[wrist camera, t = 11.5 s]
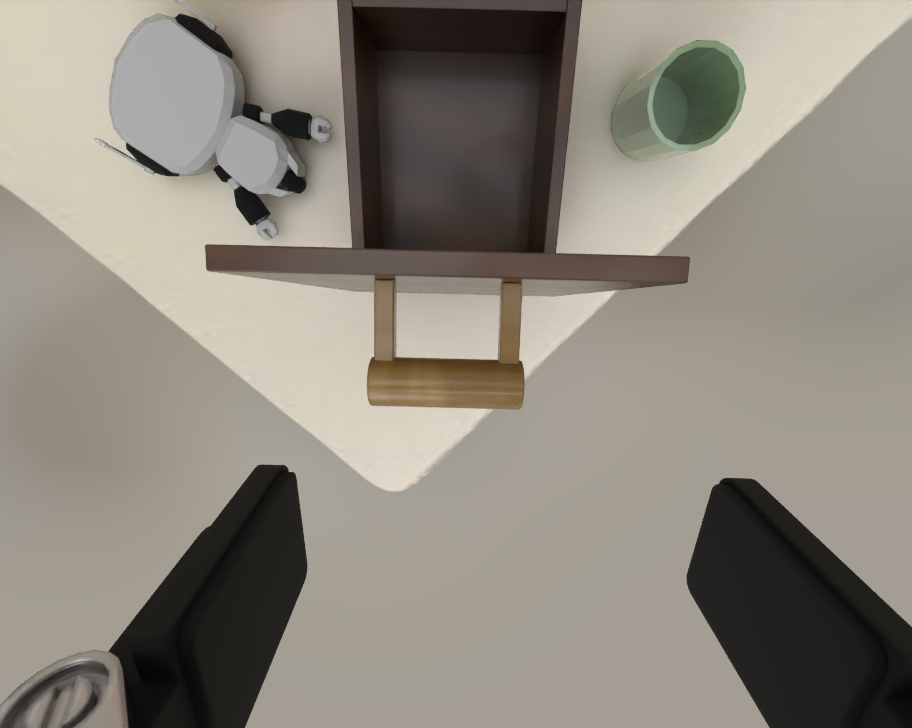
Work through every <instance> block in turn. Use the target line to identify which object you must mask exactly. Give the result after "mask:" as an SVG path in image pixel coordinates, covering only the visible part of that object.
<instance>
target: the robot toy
mask: <svg viewBox="0 0 912 728" xmlns="http://www.w3.org/2000/svg"><path fill="white" fill-rule="evenodd" d="M175 1H176V2H178V3H179V4H180V5H182V6H183V7H184V8H186V9H187V10H188V11H190V12H191V13H192V14H194V15H195V16H196V17H198V18H199V19H200V20H202V21H203V22H204V23H203V22H201V21H200V20H198V19H196V18H193V17H190V16H187V15H183V14H179V15H178V16H177V17H175V18H173V17H169V16H165V15H161V14H156V15H153V16H151V17H148V18H146V19H144V20H143V21H142V22H141V23H139V24H138V26H137V27H136V28H135V29H134V30H133V31H132V33H131V34H130V35H129V37H128V38H127V40H126V42H125V43H124V45H123V47H122V48H121V50H120V52H119V53H118V55H117V57H116V58H115V62H114V67H113V73H112V79H111V85H110V94H109V110H110V116H111V119H112V123H113V127H114V129H115V131H116V132H117V133H118V134H119V136H120V137H121V138H122V139H123V140H124V141H125V142H126V149H127V150H128V151H129V152H130V153H131V154H132V155H133V156H134V157H135V158H136V159H137V160H135V159H133V158H131V157H130V156H128V155H126V154H124V153H123V152H121V151H119V150H117V149H115V148H114V147H112V146H110V145H108V143H106V142H104V141H102V140H101V139H96V138H93V139H94V140H95V141H96V142H97V143H98V144H100V145H102V146H103V147H107V148H108V149H110V150H112V151H114V152H116V153H117V154H119V155H121V156H123V157H125V158H126V159H128V160H130V161H132V162H134V163H136V164H137V165H139V166H141V167H143V168H144V170H145V171H147V172H149V173H150V174H152V175H153V174H155V173H157V174H161V175H166V176H179V175H180V174H183V175H198V174H200V173H203V172H206V171H208V170H209V169H210V168H212V167H213V166H214V165H215V164H216V163H217V162H218V164H219V165H217V166H216V167H215V168H214V169H213V170H214V171H215V172H216V174H217V175H218V177H219V178H220V179H221V181H223V182H228V183H229V184H230V185H231V187H232V188H233V190H234V195H235V201H236V206H237V208H238V209H239V210H240V212H241V213H242V215H243V216H244V217H245V219H246V220H247V221H248V223H249V224H250V225H254V224H256V226H257V231H258V234H259V235H260V236H261V237H262V238H263V239H265V240H269V239H271V238H273V237H272V236H271V235H270V234H269V232H268V231H267V228H268V229H269V230H270V232H271V233H272V234H273V236H276V235H277V234H278V232H279V229H278V227H277V225H276V223H275V222H274V221H272V220H271V219H269V218H267V217H268V216H269V215H271V214H270V212H269V211H268V209H267V208H266V207H265V205H264V204H263V202H262V201H261V199H260V198H259V197H258V196H257V195H256V194H254V193H257V194H271V195H274V196H278V197H286V196H290V195H292V194H294V193H298V194H299V193H302V192H303V191H304V190H305V188H306V181H305V179H304V178H303V177H305V165H304V163H303V162H302V161H301V159H300V158H299V157H298V155H297V154H296V151H295V148H294V146H293V144H292V143H291V142H290V140H289V139H288V138H287V137H286V136H284V135H283V134H281V133H279V132H278V131H276V130H274V129H272V128H271V127H269V126H267V125H265V124H263V123H268V124H273V125H274V126H275V127H276V128H277V129H279V130H280V131H282V132H283V133H284V134H286V135H287V136H291V137H296V138H301V139H306V140H310V139H311V137H313V138H314V139H315V140H317V141H318V142H327V141H328V140H329V139H330V138H331V134H330V133H327V134H326V133H321V127H325V128H328V129H330V130H331V124H330V122H329V120H327V119H325V118H323V117H321V116H319V117H316V118H313V119H312V116H311V115H310V114H309V113H304V112H300V111H295V110H291V109H286V110H283V111H279V112H276V113H274V114H271V113H266V112H264V111H263V109H262V108H261V107H260V106H257V105H253V104H248V103H245V104H244V99H245V89H244V83H243V77H242V74H241V72H240V71H239V69H238V68H237V66H236V65H235V63H234V62H233V60H232V51H231V50H230V48H229V47H228V45H227V44H226V42H225V41H224V40H223V38H222V37H221V36H220V35H218V34H217V33H216V32H215V29H216V26H215V25H214V24H212V23H211V22H210V21H208V20H207V19H206V20H205V19H204V18H202V17H201V16H200V15H198V14H197V13H196V12H194V11H193V10H192V9H190V8H189V7H188V6H186V5H185V4H184V3H182V2H181V1H180V0H175ZM242 112H243V116H242ZM284 187H286V188H284ZM287 188H288V189H287ZM253 192H254V193H253Z"/></svg>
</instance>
